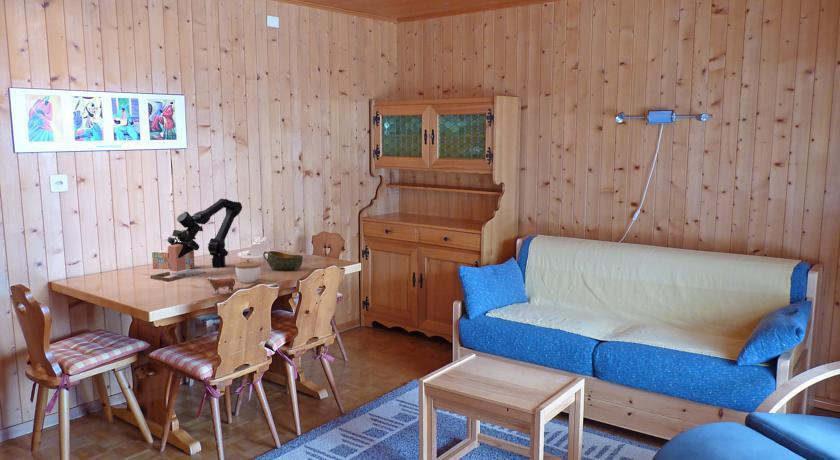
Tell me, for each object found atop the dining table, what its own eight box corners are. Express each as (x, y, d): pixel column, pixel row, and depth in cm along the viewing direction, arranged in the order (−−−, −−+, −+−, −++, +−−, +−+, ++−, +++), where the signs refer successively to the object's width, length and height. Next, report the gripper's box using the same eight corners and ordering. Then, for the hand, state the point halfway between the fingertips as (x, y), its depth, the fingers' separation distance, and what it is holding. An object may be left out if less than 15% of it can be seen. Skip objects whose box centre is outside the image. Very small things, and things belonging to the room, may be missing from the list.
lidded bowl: (266, 281, 337) (265, 259, 335) (244, 285, 328) (243, 263, 326) (251, 277, 345) (251, 256, 344) (230, 281, 336) (229, 259, 334)
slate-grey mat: (190, 270, 363) (190, 269, 363) (205, 272, 357) (205, 271, 357) (172, 274, 353) (172, 273, 353) (187, 276, 347) (187, 275, 347)
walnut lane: (168, 274, 351) (168, 271, 351) (185, 277, 345) (185, 274, 344) (150, 278, 342) (150, 275, 342) (167, 281, 335) (167, 278, 335)
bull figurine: (206, 292, 312) (206, 275, 311) (236, 292, 313) (235, 275, 312) (204, 295, 308) (203, 277, 307) (234, 294, 309) (233, 277, 308)
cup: (279, 265, 376) (278, 247, 374) (305, 270, 365) (305, 251, 363) (262, 269, 365) (261, 251, 364) (288, 274, 354) (288, 255, 353)
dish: (250, 250, 424) (249, 233, 423) (286, 252, 418) (285, 234, 416) (229, 257, 401) (228, 239, 399) (267, 259, 394) (266, 240, 393)
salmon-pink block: (178, 268, 352) (177, 244, 350) (185, 269, 349) (184, 245, 347) (170, 270, 347) (168, 245, 345) (177, 271, 345) (175, 246, 342)
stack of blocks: (152, 268, 367) (151, 246, 365) (157, 266, 373) (156, 244, 371) (190, 269, 365) (189, 247, 363) (195, 267, 371) (193, 245, 369)
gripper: (169, 222, 353) (152, 246, 345) (193, 225, 343) (177, 249, 335) (182, 235, 360) (166, 258, 353) (206, 237, 351) (190, 262, 343)
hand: (174, 257), depth 346 cm, fingers closed on salmon-pink block, 5 cm apart
